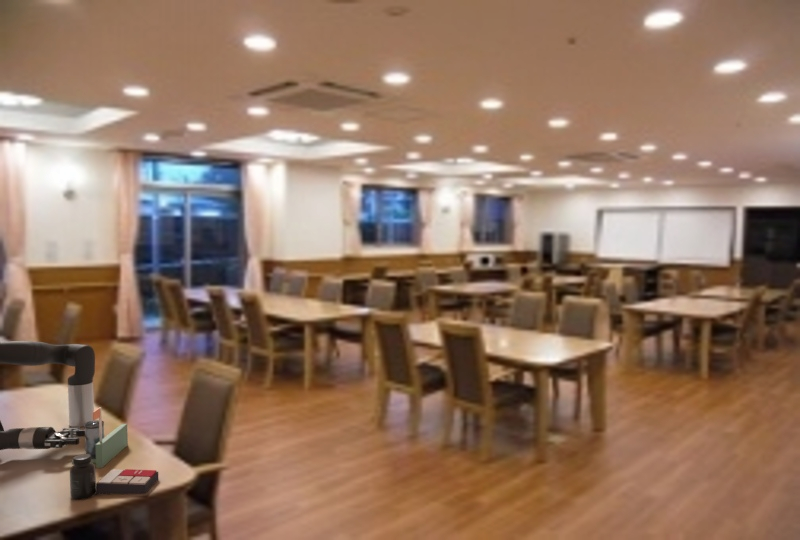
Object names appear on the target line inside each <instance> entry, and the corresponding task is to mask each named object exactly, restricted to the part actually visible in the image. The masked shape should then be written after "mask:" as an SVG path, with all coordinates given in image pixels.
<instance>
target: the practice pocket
mask: <svg viewBox="0 0 800 540" xmlns="http://www.w3.org/2000/svg"><path fill="white" fill-rule="evenodd" d="M102 419H103V416H102V407H98V408H96V409H94V412H93V421H95V420H99V434H100V441H99V442H98V443H97V444H95V446H96V459H91V460H92V461H91V463H93V464H95V469H98V468H104V467H105V465H107V464H108V463H109V462H111V461H112V459H114V458H116V456H117V455H118V454H120V452H121V451H123V450H124V449H125V448H126V447H127V446H128V445H129V443H128V442H129V441H128V438H129V437H128V436H129V435H128V423H121V424H120V425H119V426H118V427H116V428H115V429H114V430H112V431H111V432H110V433H108V434H107V435H106V436H104V438H103V439H102V421H103V420H102ZM71 464H72V465H73V459H72V460H71Z"/></svg>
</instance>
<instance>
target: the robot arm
mask: <svg viewBox="0 0 800 540" xmlns="http://www.w3.org/2000/svg"><path fill="white" fill-rule="evenodd" d="M0 364H7V365H16V366H17V365H18V366H33V367H34V366H43V365H47V364H56V365H57V364H59V365H63V366H69V367H74V374H72V375H70V376H68V378H67V395H68V396H67V397H68V398H67V399H68V400H67V401H68V423H69V425H68V426H69V427H64V428H62V429H61V430H57V431H56V430H55V428H54V427H52V426H35V427H34V426H32V427H31V426H30V427H21V428H19V427H18V428H9V429H7V430H5V429H4V426H3V423H2V421H1V420H0V451H3V450H19V449H20V450H22V449H23V450H49V449H61V448H63V447H66V446H72V445H73V446H76V445H77V446H78V445H79V444H80V437H81V438H82V437H84V438H85V429H81V427H84V424H85V423H87V422H90V421H93V412H94V411H95V405H94V403H95V402H94V401H95V400H94V377H95V373H96V372H95V371H96V353H95V349H94V348H93V347H92V346H91V345H88V344H78V343H72V344H52V343H47V342H42V341H36V340H35V341H34V340H12V341H0Z"/></svg>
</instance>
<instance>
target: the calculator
mask: <svg viewBox="0 0 800 540" xmlns="http://www.w3.org/2000/svg"><path fill="white" fill-rule="evenodd" d="M158 480H159V471H157V470H156V469H155V470H154V469H133V468H132V469H131V468H126V469H114V468H113V469H111V470H110V471H108V473H106V474H104V476H103V477H102V478H101V479H100V480H98V482H97V481H96V493H95V495H111V494H117V495H144V494H147V493H148V491H150V489H151V488H152V487H154V485H155V484H156V483H157V482H158Z"/></svg>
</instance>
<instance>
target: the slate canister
mask: <svg viewBox="0 0 800 540" xmlns="http://www.w3.org/2000/svg"><path fill="white" fill-rule="evenodd" d="M83 427H84V430H85V437H84V445H85V448H84V449H85V454H90V455H91V459H96V446H95V444H97V443H98V442H99V441H100V434H99V419H96V420H95V421H90V422H87V423H85V424H84V426H83ZM104 437H105V421H104V420H102V439H103V438H104Z"/></svg>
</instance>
